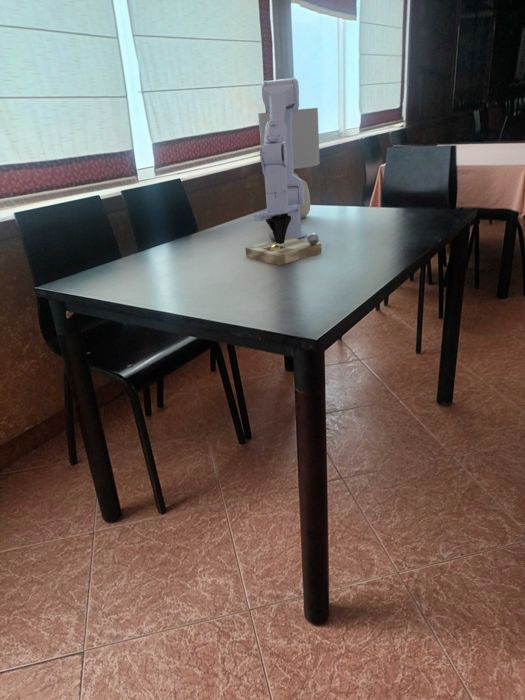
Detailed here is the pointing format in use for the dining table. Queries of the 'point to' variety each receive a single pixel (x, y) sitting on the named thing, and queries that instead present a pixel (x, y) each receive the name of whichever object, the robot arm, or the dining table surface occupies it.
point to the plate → (283, 251)
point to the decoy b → (312, 238)
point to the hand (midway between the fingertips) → (280, 243)
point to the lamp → (300, 145)
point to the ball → (274, 248)
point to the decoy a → (271, 236)
